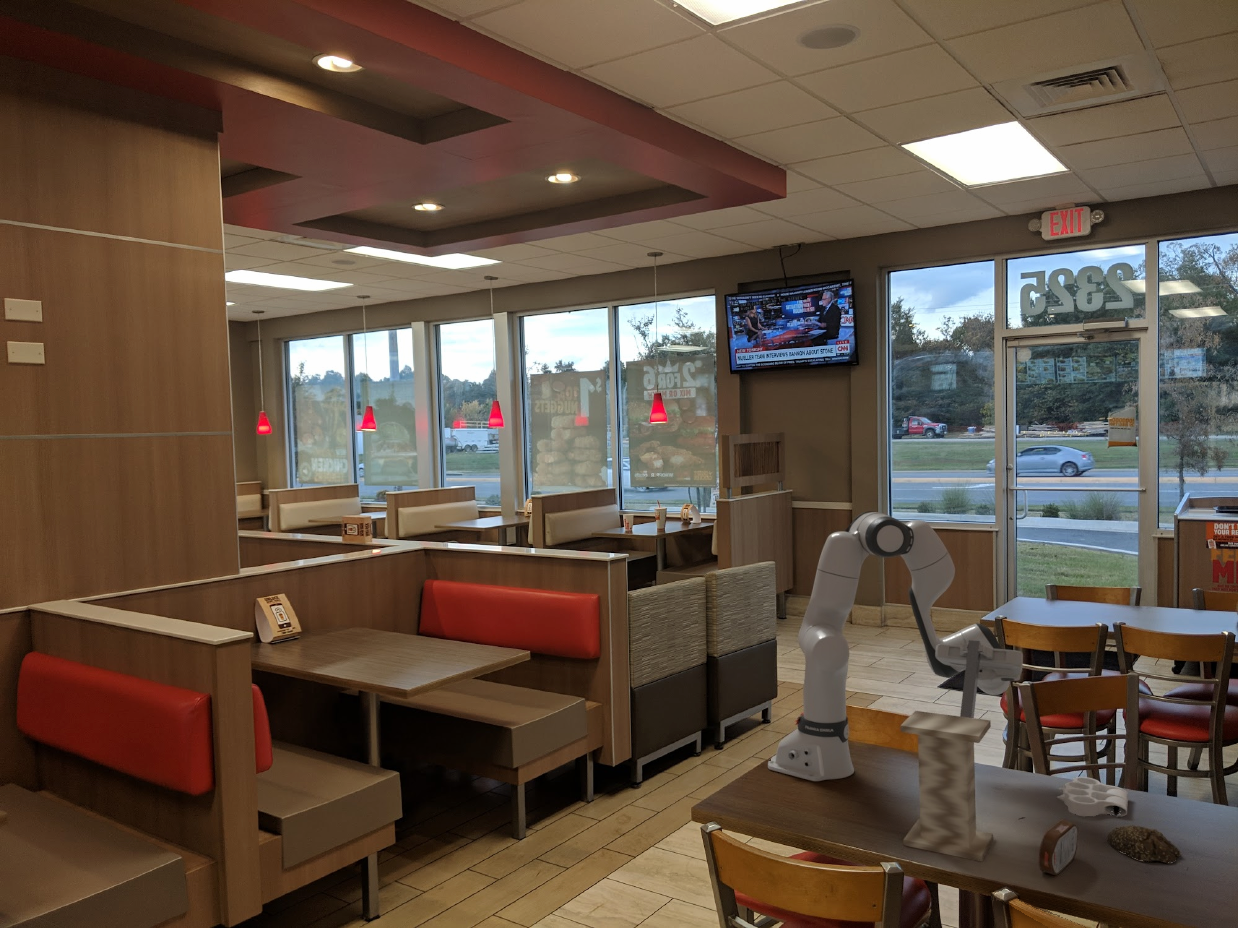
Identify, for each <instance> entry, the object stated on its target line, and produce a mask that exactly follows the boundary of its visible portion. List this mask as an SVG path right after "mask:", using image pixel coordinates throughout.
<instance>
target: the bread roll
mask: <svg viewBox="0 0 1238 928" xmlns="http://www.w3.org/2000/svg"><path fill="white" fill-rule="evenodd" d="M1107 842H1108V843H1109V844H1111V845H1112V846H1113V847H1112V846H1111V845H1110V846H1111V847H1112V848H1113V849H1115V848H1116V849H1117V850H1116V849H1115V850H1116V851H1118V850H1119V851H1121V852H1123V853H1126V854H1127V855H1129V856H1131V857H1133V858H1136V859H1138V860H1143V861H1146V863H1147V861H1148V862H1155V861H1156V862H1162V863H1163V862H1165V863H1168V862H1169V863H1171V862H1174V861H1175V860H1176V861H1177V858H1176V857H1178V858H1179V857H1180V856H1181V851H1180V850H1179V849H1178V847H1177V846H1176V845H1174V844H1173V843H1171V841H1170V840H1168V839H1167V837H1166V836H1164V835H1163V833H1162V832H1160V831H1158V830H1157V829H1155V828H1147V827H1144V826H1138V825H1137V826H1136V825H1133V824H1132V825H1124V826H1119V827H1115V829H1112V831H1111V832H1110V833H1108V835H1107ZM1127 855H1126V856H1127ZM1129 856H1128V857H1129ZM1131 857H1130V858H1131ZM1165 863H1164V864H1165ZM1174 863H1175V862H1174Z"/></svg>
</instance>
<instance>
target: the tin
mask: <svg viewBox="0 0 1238 928" xmlns="http://www.w3.org/2000/svg"><path fill="white" fill-rule="evenodd" d="M1078 836H1079V827H1078V825H1077V824H1076V823H1074V822H1072V821H1069V820H1066V819H1064V818H1062V819H1060V820H1059V821H1057V822H1056V823H1055V824H1053V825H1052V826H1051V827H1050V828H1049V829H1047V830H1046V831H1045V833H1044V835H1043V837H1042V839H1041V843H1040V847H1039V851H1038V852H1039V853H1038V867H1039V869H1040V871H1041V872H1042V873H1047V874H1049V875H1052V876H1058V875H1059V874H1060V873H1061V872H1063V870H1064V869H1066V868H1067V867H1068V866H1069V865H1070V864H1071V863H1072V862H1073V861H1072V860H1074V859H1075V857H1076V854H1077V851H1078ZM1070 862H1071V863H1070ZM1069 863H1070V864H1069ZM1067 865H1068V866H1067ZM1066 866H1067V867H1066Z"/></svg>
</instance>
